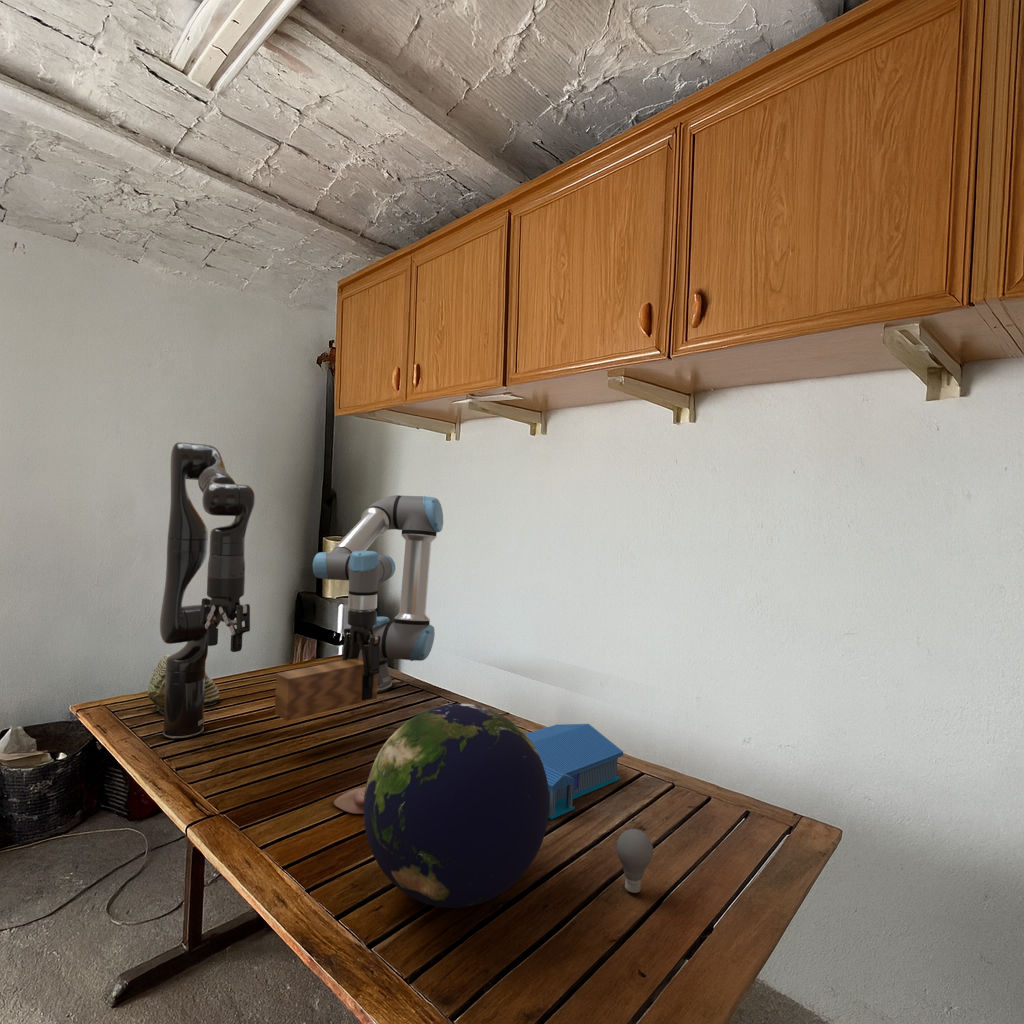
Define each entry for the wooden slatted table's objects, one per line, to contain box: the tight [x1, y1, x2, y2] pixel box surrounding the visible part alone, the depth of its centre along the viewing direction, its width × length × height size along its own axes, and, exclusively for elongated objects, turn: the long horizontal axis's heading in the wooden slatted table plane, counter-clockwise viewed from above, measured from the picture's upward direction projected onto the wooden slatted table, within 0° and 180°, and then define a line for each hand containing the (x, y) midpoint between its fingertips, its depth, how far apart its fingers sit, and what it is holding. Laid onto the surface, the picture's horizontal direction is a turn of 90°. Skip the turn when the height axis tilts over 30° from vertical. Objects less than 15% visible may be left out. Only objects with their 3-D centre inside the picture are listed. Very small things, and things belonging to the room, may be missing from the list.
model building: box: [524, 723, 624, 820], centre depth 142 cm, size 39×24×10 cm, turn 132°
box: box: [274, 657, 378, 722], centre depth 161 cm, size 26×6×10 cm, turn 137°
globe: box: [363, 703, 549, 909], centre depth 103 cm, size 30×30×30 cm
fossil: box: [147, 654, 221, 711], centre depth 185 cm, size 9×18×15 cm, turn 132°
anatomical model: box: [333, 786, 366, 815], centre depth 132 cm, size 13×4×12 cm
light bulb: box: [615, 828, 654, 894], centre depth 106 cm, size 6×6×10 cm
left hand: (223, 648), depth 139 cm, fingers open, 8 cm apart
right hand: (359, 695), depth 168 cm, fingers closed on box, 6 cm apart
